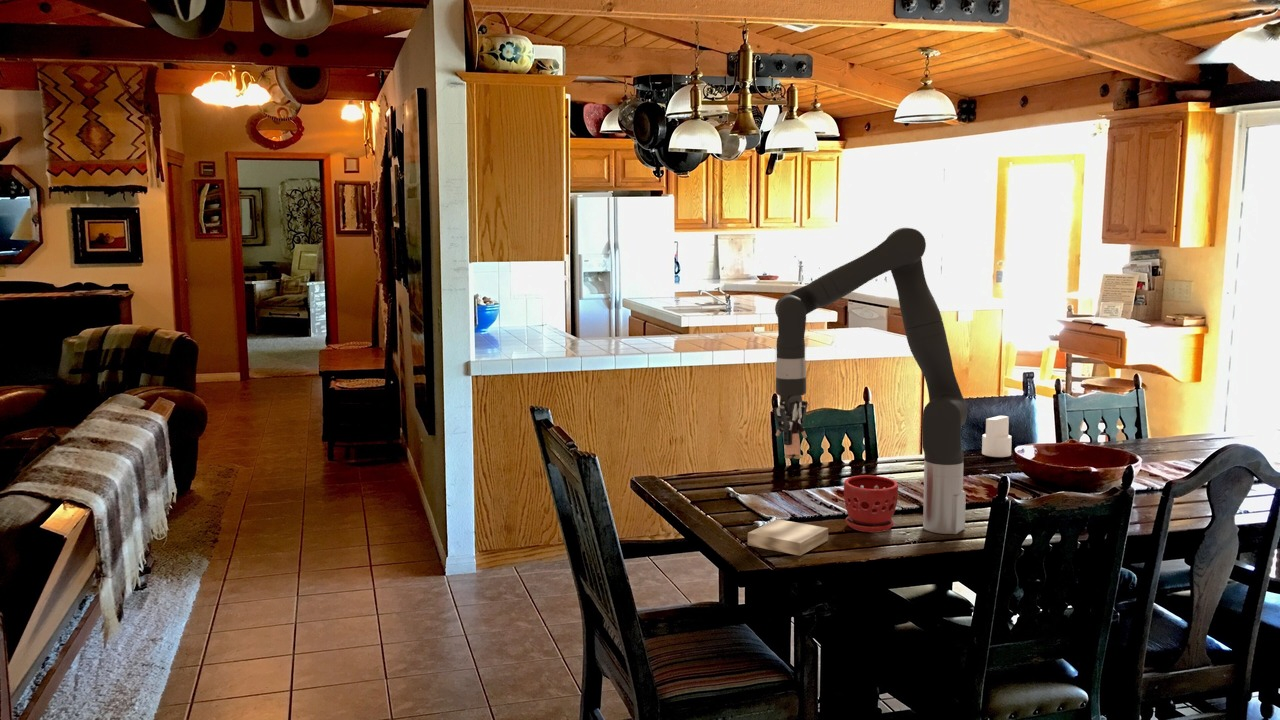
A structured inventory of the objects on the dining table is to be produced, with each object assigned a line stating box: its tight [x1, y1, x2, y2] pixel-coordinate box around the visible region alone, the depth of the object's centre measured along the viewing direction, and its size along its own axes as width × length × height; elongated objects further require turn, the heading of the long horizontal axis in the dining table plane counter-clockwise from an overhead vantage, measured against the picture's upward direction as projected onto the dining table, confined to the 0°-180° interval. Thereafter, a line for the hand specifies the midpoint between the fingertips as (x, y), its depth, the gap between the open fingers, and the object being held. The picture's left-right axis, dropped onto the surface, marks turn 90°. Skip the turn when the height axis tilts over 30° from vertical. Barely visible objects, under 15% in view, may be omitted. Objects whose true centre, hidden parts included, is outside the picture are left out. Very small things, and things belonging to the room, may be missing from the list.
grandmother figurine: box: [775, 409, 808, 460], centre depth 256 cm, size 8×4×13 cm, turn 84°
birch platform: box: [747, 518, 829, 557], centre depth 244 cm, size 14×14×3 cm
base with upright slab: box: [981, 415, 1012, 458], centre depth 333 cm, size 9×9×12 cm
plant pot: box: [843, 474, 899, 533], centre depth 254 cm, size 13×13×12 cm
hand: (791, 443), depth 256 cm, fingers closed on grandmother figurine, 3 cm apart
